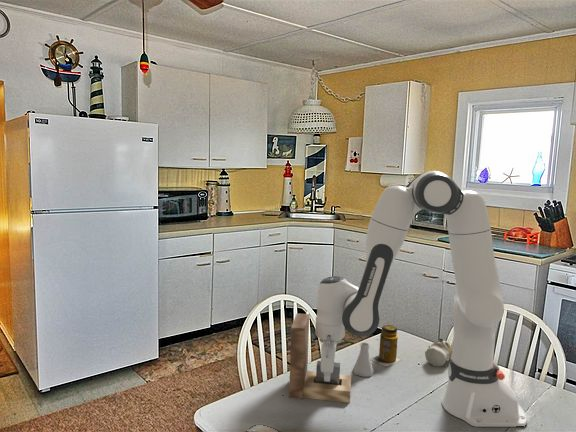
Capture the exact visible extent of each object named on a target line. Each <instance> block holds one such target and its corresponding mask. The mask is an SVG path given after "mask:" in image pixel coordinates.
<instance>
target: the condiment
mask: <svg viewBox="0 0 576 432" xmlns="http://www.w3.org/2000/svg"><path fill="white" fill-rule="evenodd" d="M398 338H399V337H398V329H397V327H396V326H394V325H391V324H385V325H383V326H382V327H381V333H380V337H379V352H378V355H377V356H374V357H371V358H370V360H371V361H373V362H376V363H377V364H380V365H382V366H385V367H391V365H394V364H396V363H398V362H400V361H401V358H398V357H397V350H398Z"/></svg>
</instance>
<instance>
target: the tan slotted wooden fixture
mask: <svg viewBox="0 0 576 432" xmlns="http://www.w3.org/2000/svg"><path fill="white" fill-rule="evenodd" d="M309 331H310V314H309V313H298V312H297V313H296V314H295V317H294V319H293V322H292V325H291V328H290V355H289V357H290V358H289V385H288V386H289V388H288V398H289V399H297V400H303V399H313V400H321V401H322V400H323V401H329V402H330V401H331V402H340V403H341V402H342V403H347V404H348V403H350V402H351V392H352V391H351V388H352V385H351V384H352V375H351V374H341V373H340V379H339V385H332V384H322V383H316V371H311V370H308V362H309V361H308V359H309V358H308V356H309V334H310V332H309Z"/></svg>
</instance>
